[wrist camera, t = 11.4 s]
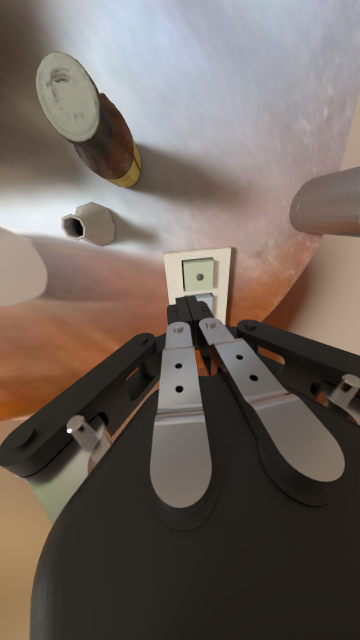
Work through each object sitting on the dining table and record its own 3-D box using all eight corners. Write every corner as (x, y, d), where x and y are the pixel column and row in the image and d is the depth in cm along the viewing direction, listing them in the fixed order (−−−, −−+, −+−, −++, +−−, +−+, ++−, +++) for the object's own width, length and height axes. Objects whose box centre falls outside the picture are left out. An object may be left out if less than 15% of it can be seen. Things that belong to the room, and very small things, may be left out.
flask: (112, 203, 30) (94, 196, 22) (119, 246, 34) (105, 255, 26) (70, 201, 30) (34, 194, 21) (81, 245, 33) (55, 254, 25)
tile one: (209, 258, 37) (214, 261, 34) (209, 284, 40) (213, 289, 37) (182, 260, 36) (184, 264, 34) (184, 287, 40) (186, 292, 37)
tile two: (209, 292, 41) (213, 297, 38) (208, 313, 44) (212, 319, 41) (185, 294, 41) (187, 300, 38) (186, 316, 44) (188, 322, 41)
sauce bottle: (106, 130, 26) (2, -41, 9) (146, 151, 27) (125, 42, 10) (100, 181, 29) (15, 128, 12) (137, 197, 30) (109, 171, 13)
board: (227, 246, 36) (231, 247, 34) (221, 340, 50) (223, 344, 48) (163, 252, 35) (163, 254, 34) (174, 346, 49) (175, 350, 47)
